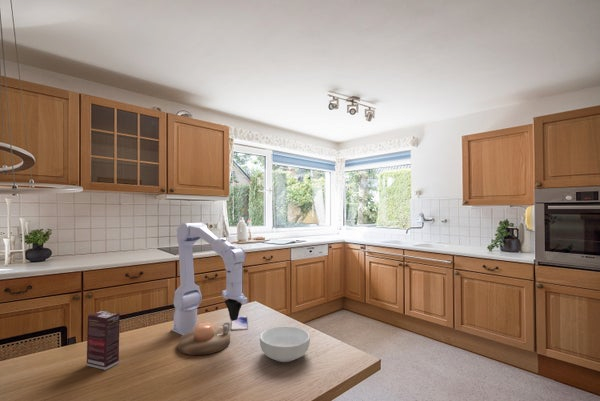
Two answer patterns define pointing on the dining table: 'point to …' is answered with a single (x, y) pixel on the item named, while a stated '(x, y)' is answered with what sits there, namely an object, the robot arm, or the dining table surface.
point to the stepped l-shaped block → (227, 324)
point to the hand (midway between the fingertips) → (233, 319)
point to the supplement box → (103, 339)
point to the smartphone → (240, 323)
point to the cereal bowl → (284, 343)
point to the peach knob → (203, 331)
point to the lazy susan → (204, 342)
